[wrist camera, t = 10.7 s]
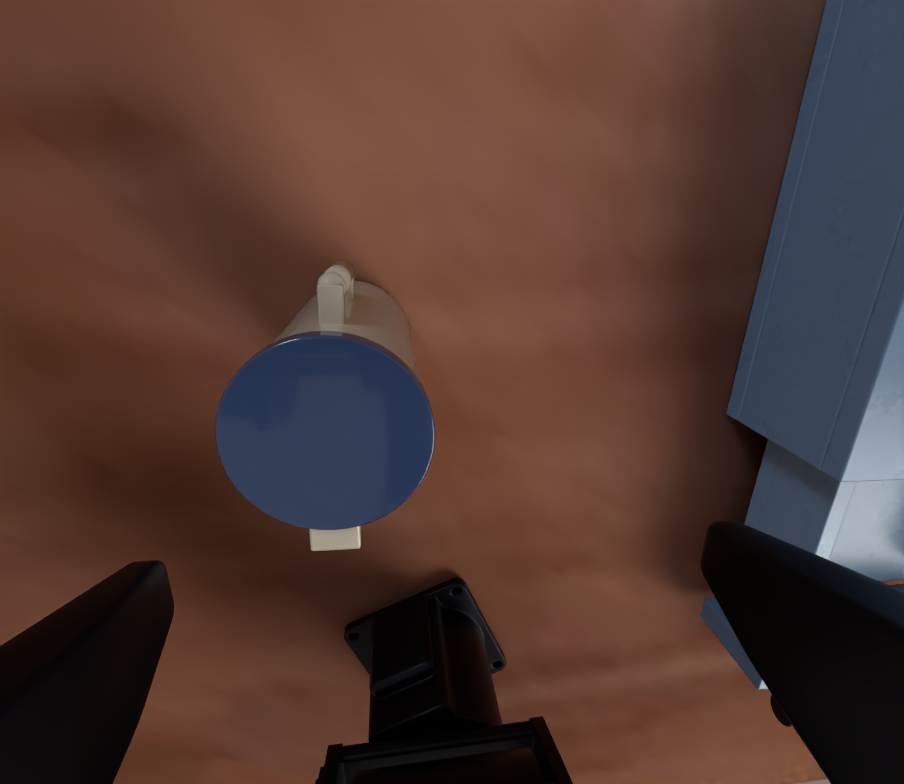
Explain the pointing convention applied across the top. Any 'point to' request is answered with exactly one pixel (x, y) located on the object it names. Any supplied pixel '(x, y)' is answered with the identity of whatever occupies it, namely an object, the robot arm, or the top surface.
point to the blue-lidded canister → (330, 415)
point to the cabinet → (837, 261)
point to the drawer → (820, 530)
